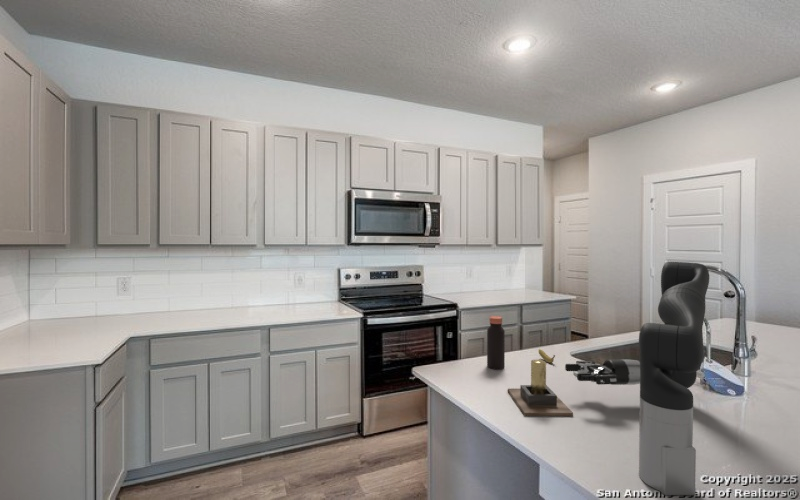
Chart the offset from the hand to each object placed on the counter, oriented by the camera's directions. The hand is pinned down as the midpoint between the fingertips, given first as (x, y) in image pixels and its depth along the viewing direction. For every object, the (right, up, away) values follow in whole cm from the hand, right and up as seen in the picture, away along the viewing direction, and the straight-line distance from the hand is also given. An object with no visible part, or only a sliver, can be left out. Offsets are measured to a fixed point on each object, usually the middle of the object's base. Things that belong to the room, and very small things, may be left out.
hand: (571, 372), depth 120 cm
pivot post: (-10, -9, 0) cm, 13 cm away
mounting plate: (-10, -10, 0) cm, 14 cm away
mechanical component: (+17, -9, +24) cm, 31 cm away
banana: (+8, -9, +41) cm, 43 cm away
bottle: (-15, -9, +34) cm, 39 cm away
